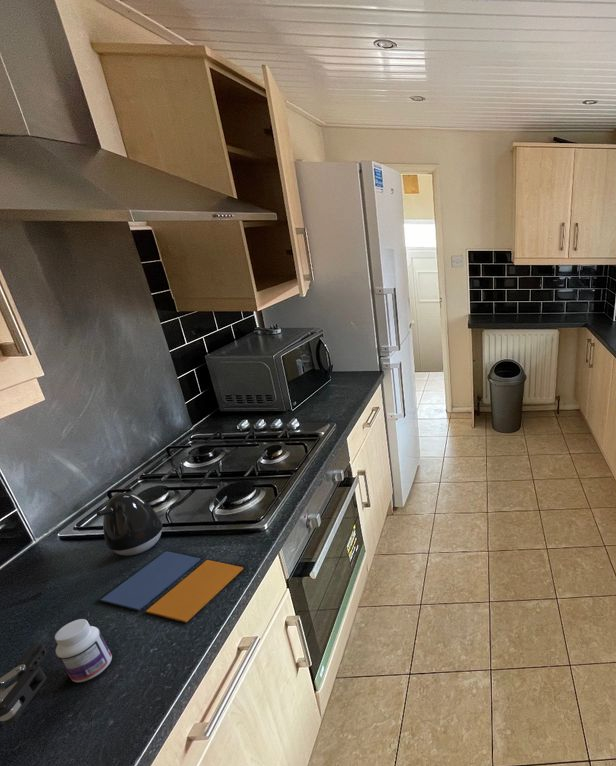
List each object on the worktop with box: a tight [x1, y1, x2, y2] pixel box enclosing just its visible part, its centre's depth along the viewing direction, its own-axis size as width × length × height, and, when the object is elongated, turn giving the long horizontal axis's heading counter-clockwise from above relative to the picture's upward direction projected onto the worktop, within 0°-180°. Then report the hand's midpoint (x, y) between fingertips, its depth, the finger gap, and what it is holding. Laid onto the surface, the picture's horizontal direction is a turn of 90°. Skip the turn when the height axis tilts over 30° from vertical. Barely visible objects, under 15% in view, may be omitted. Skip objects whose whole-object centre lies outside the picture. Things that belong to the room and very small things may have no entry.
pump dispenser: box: [95, 492, 163, 556], centre depth 98 cm, size 10×10×15 cm
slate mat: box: [100, 550, 201, 611], centre depth 92 cm, size 14×10×1 cm
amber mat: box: [145, 559, 244, 623], centre depth 89 cm, size 14×10×1 cm
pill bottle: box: [54, 618, 113, 683], centre depth 72 cm, size 5×5×10 cm
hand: (0, 655), depth 57 cm, fingers open, 8 cm apart
